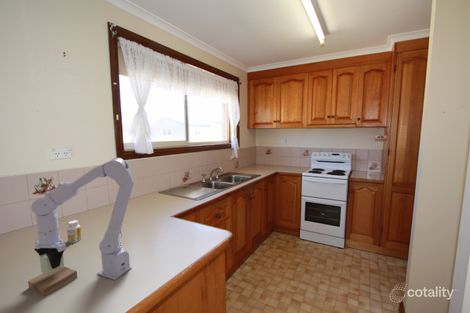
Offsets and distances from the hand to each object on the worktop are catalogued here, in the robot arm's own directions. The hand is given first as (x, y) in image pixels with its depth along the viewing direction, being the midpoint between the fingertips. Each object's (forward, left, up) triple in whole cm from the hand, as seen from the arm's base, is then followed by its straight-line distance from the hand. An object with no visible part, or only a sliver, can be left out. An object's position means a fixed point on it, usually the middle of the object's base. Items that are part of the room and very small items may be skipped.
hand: (52, 265), depth 78 cm
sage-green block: (0, 0, -2) cm, 2 cm away
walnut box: (0, 0, -7) cm, 7 cm away
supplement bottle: (+26, -23, -7) cm, 35 cm away
